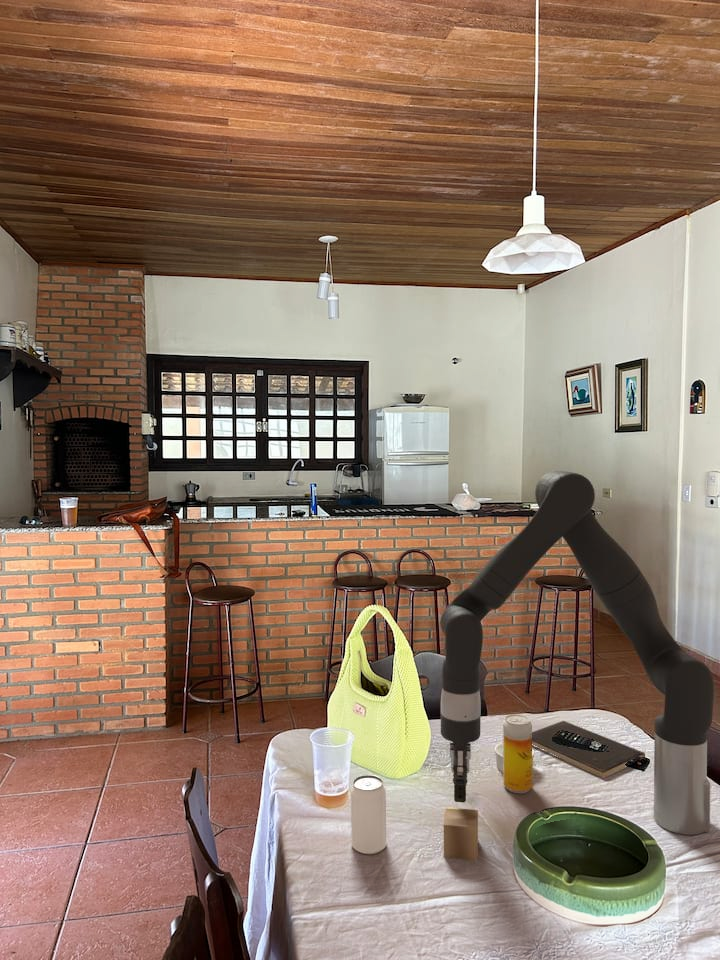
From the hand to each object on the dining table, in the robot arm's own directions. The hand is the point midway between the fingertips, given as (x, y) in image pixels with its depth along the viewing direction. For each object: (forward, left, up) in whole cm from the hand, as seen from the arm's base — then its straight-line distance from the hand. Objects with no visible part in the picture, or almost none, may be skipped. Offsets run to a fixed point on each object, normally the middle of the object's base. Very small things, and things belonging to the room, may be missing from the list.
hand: (460, 800), depth 131 cm
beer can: (-12, -18, -6) cm, 23 cm away
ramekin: (-12, -27, -6) cm, 30 cm away
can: (+17, +7, -6) cm, 19 cm away
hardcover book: (-29, -38, -7) cm, 48 cm away
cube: (0, +3, -3) cm, 4 cm away
